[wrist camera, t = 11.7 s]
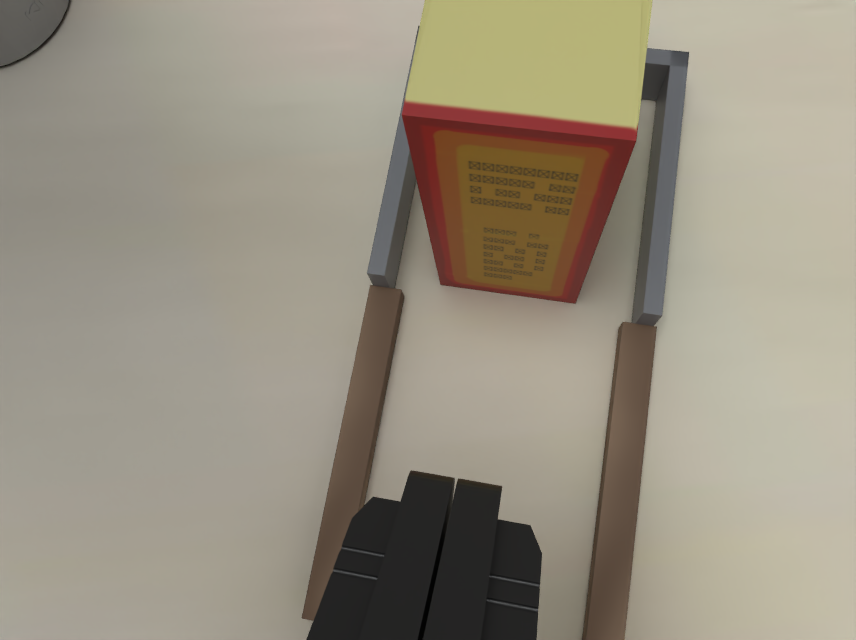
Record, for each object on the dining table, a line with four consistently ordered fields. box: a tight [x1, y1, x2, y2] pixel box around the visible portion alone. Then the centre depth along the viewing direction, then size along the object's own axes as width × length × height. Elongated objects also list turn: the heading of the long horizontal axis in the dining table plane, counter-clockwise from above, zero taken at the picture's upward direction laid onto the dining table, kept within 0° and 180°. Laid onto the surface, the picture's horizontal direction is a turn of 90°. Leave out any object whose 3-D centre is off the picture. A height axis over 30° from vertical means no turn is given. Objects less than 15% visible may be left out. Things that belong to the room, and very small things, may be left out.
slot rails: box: [302, 285, 657, 640], centre depth 33 cm, size 13×15×1 cm
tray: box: [367, 26, 689, 326], centre depth 35 cm, size 13×13×3 cm
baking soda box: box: [402, 0, 652, 304], centre depth 29 cm, size 10×6×16 cm
